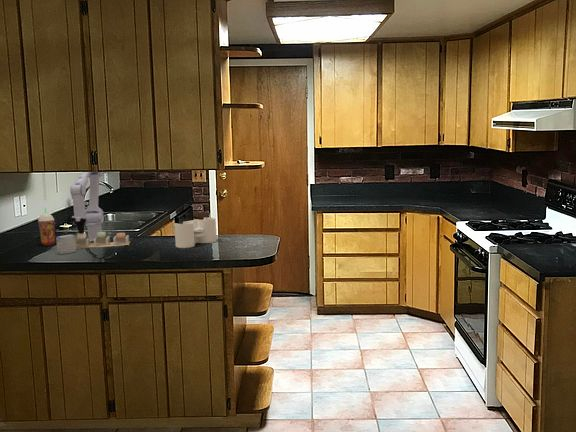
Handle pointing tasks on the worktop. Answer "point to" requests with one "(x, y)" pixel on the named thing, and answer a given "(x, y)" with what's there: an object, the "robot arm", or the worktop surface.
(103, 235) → the sage key
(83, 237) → the ivory key
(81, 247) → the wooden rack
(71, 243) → the medicine box
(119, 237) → the terracotta key
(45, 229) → the smoothie
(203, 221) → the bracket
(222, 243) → the worktop surface
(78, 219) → the robot arm
